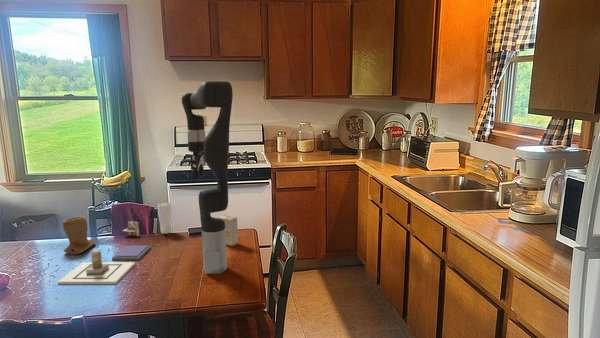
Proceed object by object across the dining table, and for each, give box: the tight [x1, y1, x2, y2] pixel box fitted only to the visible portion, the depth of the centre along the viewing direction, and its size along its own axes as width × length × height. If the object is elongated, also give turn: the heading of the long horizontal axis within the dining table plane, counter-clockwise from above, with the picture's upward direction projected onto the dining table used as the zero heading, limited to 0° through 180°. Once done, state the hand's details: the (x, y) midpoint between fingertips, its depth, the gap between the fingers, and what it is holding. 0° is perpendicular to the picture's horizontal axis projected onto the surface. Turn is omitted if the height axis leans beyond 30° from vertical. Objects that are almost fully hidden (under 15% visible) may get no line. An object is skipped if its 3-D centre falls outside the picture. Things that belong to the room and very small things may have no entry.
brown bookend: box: [62, 215, 96, 255], centre depth 191 cm, size 15×12×15 cm
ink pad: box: [111, 245, 152, 261], centre depth 186 cm, size 14×12×2 cm
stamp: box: [86, 250, 109, 275], centre depth 165 cm, size 6×6×8 cm
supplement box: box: [217, 214, 239, 247], centre depth 197 cm, size 8×5×13 cm, turn 58°
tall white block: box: [157, 201, 173, 235], centre depth 213 cm, size 7×7×15 cm
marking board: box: [57, 261, 136, 285], centre depth 166 cm, size 18×22×1 cm
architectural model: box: [122, 221, 140, 237], centre depth 209 cm, size 3×7×7 cm, turn 77°
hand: (198, 176), depth 183 cm, fingers open, 8 cm apart
